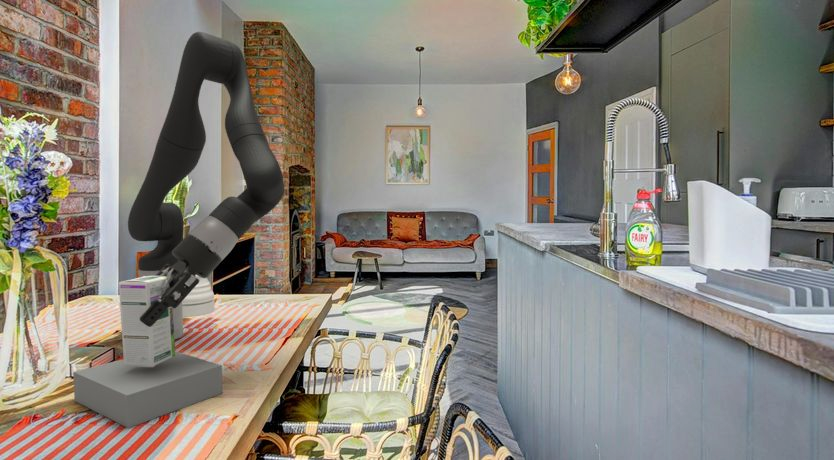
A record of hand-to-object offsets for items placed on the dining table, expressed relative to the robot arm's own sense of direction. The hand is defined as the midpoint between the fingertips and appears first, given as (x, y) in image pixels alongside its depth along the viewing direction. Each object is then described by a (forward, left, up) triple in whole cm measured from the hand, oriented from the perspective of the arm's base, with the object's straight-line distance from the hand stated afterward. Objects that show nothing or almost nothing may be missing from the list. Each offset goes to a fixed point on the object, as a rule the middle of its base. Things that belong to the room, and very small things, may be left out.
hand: (138, 319), depth 84 cm
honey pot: (-54, +42, -14) cm, 70 cm away
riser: (0, +1, -14) cm, 14 cm away
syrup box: (0, +1, -8) cm, 8 cm away
